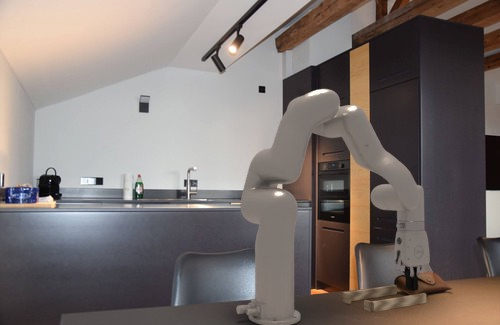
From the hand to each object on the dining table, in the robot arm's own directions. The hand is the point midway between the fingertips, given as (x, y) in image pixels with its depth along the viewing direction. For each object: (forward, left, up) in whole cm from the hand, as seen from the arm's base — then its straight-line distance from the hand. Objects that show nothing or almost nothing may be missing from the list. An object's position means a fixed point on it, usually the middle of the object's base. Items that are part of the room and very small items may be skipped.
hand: (411, 289), depth 126 cm
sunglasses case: (+9, +2, -3) cm, 10 cm away
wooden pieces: (-11, 0, -2) cm, 11 cm away
